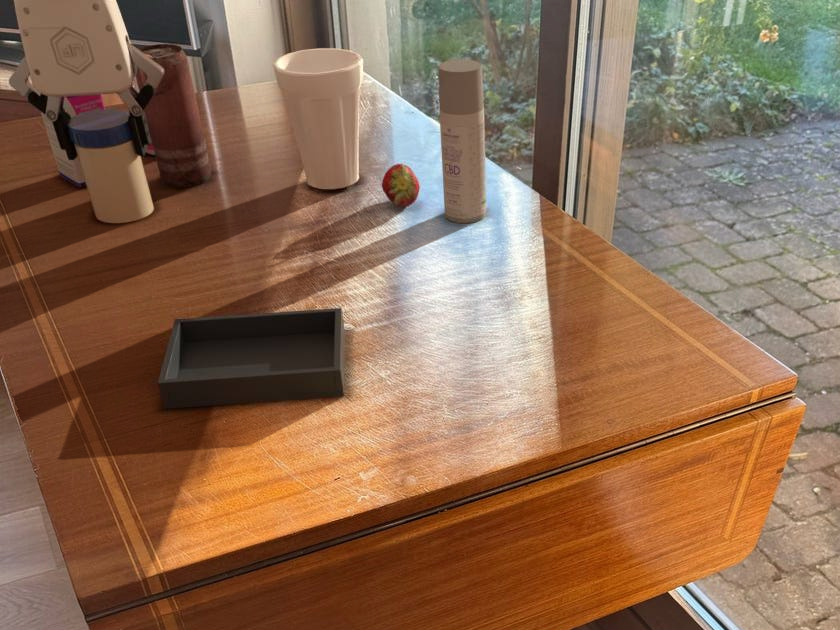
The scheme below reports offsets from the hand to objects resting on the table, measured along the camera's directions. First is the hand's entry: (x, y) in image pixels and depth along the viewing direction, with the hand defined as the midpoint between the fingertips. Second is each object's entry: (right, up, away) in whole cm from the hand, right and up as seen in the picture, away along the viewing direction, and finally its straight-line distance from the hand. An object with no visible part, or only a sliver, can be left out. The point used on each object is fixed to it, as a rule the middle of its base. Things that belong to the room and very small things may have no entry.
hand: (108, 152), depth 109 cm
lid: (0, +2, -2) cm, 3 cm away
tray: (+22, -30, -21) cm, 43 cm away
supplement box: (-7, +3, +13) cm, 15 cm away
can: (+5, +2, +11) cm, 13 cm away
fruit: (+32, -4, +4) cm, 33 cm away
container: (+40, -6, +2) cm, 40 cm away
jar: (0, -5, +5) cm, 7 cm away
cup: (+24, +1, +9) cm, 25 cm away
